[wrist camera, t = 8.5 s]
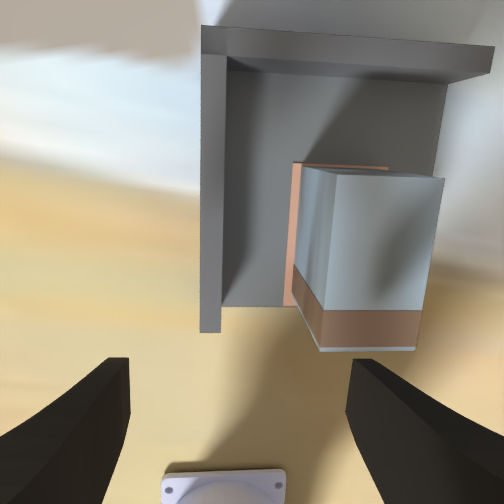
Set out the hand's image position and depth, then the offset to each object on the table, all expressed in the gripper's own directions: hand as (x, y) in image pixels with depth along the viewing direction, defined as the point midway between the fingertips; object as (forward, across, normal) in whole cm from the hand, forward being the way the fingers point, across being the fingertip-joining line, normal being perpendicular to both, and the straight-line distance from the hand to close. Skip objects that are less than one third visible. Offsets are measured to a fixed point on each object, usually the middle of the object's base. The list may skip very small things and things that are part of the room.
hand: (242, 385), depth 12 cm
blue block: (+9, -5, -3) cm, 11 cm away
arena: (+9, -4, -5) cm, 12 cm away
